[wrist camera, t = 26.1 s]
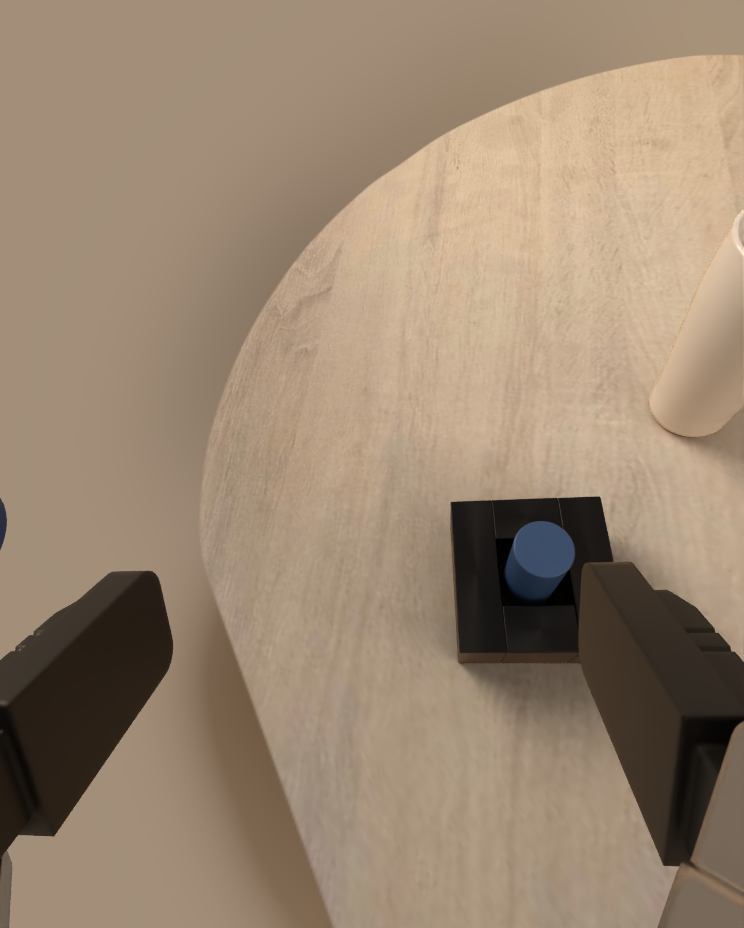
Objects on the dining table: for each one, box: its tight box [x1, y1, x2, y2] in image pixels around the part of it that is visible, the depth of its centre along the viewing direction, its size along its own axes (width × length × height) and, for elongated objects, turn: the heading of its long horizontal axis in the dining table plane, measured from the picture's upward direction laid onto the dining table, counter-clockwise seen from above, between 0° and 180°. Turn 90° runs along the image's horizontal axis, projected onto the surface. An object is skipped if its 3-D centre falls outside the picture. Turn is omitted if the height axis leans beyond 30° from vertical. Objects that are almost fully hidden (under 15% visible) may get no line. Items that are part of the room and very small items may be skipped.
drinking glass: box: [649, 209, 744, 437], centre depth 31 cm, size 7×7×15 cm
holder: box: [451, 497, 614, 663], centre depth 32 cm, size 9×9×4 cm
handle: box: [500, 521, 575, 606], centre depth 30 cm, size 3×3×8 cm
